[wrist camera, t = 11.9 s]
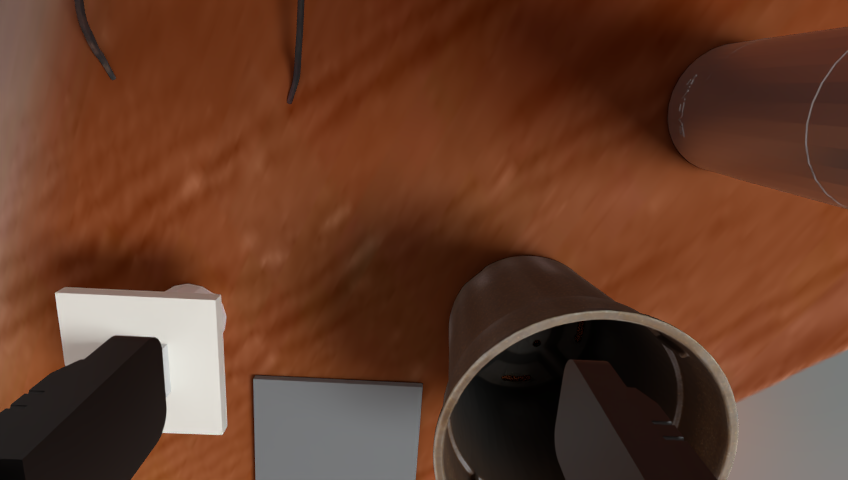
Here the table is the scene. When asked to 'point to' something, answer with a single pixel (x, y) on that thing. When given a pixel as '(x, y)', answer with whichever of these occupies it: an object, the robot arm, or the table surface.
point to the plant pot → (562, 372)
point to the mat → (335, 429)
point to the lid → (180, 339)
